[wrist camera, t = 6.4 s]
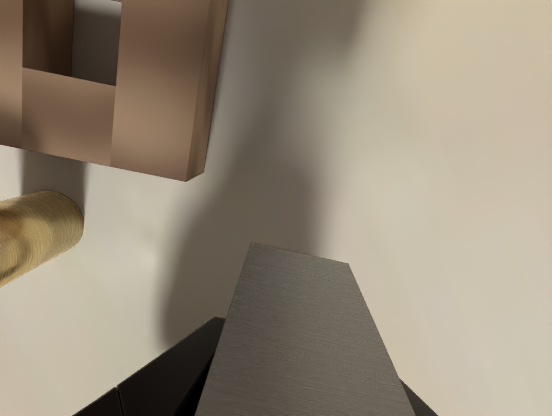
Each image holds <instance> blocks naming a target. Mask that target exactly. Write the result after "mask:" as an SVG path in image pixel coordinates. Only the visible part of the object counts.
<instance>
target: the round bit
mask: <svg viewBox="0 0 552 416" xmlns="http://www.w3.org/2000/svg"><path fill="white" fill-rule="evenodd" d="M82 233H83V219H82V215H81V213H80V211H79V209H78V208H77V206H76V205H75V204H74V203H73V201H71V200H70V199H69V198H68V197H66V196H65V195H63V194H61V193H58V192H55V191H39V192H35V193H31V194H27V195H23V196H19V197H15V198H12V199H8V200H4V201H0V287H1V286H3V285H5V284H7V283H9V282H11V281H12V280H14V279H16V278H18V277H20V276H21V275H23V274H25V273H27V272H29V271H30V270H32V269H34V268H36V267H38V266H39V265H41V264H43V263H45V262H47V261H49V260H50V259H52V258H54V257H56V256H58V255H59V254H61V253H63V252H65V251H67V250H68V249H70V248H72V247H74V246H75V245H76V244H77V243H78V242H79V240H80V239H81V236H82Z"/></svg>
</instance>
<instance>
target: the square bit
mask: <svg viewBox="0 0 552 416" xmlns="http://www.w3.org/2000/svg"><path fill="white" fill-rule="evenodd" d="M195 416H416V415H415V413H414V411H413V409H412V406H411V404H410V402H409V399H408V397H407V395H406V393H405V390H404V388H403V386H402V384H401V381H400V379H399V377H398V375H397V372H396V370H395V368H394V366H393V363H392V361H391V359H390V357H389V354H388V352H387V350H386V347H385V345H384V343H383V341H382V338H381V336H380V334H379V332H378V329H377V327H376V325H375V323H374V320H373V318H372V316H371V314H370V311H369V309H368V307H367V305H366V302H365V300H364V298H363V295H362V293H361V291H360V289H359V286H358V284H357V282H356V280H355V277H354V275H353V273H352V271H351V268H350V266H349V264H348V263H343V262H339V261H334V260H330V259H325V258H320V257H316V256H311V255H307V254H302V253H297V252H293V251H288V250H284V249H279V248H274V247H270V246H265V245H261V244H256V243H251V244H250V247H249V250H248V253H247V256H246V259H245V262H244V265H243V268H242V271H241V274H240V278H239V281H238V284H237V287H236V290H235V293H234V296H233V299H232V302H231V305H230V308H229V311H228V315H227V318H226V321H225V324H224V327H223V330H222V333H221V336H220V339H219V342H218V345H217V349H216V352H215V355H214V358H213V361H212V364H211V367H210V370H209V373H208V376H207V379H206V382H205V386H204V389H203V392H202V395H201V398H200V401H199V404H198V407H197V410H196V413H195Z"/></svg>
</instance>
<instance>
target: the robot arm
mask: <svg viewBox="0 0 552 416" xmlns="http://www.w3.org/2000/svg"><path fill="white" fill-rule="evenodd" d="M225 321H226V319H225V318H220V317H213V318H212V319H210V320H209V321H208V322H206V323H205V324H203V325H202V326H200V327H199V328H198V329H196V330H195V331H193V332H192V333H191V334H189V335H188V336H186V337H185V338H183V339H182V340H181V341H179V342H178V343H176V344H175V345H174V346H172V347H171V348H169V349H168V350H166V351H165V352H164V353H162V354H161V355H159V356H158V357H157V358H155V359H154V360H152V361H151V362H149V363H148V364H147V365H145V366H144V367H142V368H141V369H140V370H138V371H137V372H135V373H134V374H132V375H131V376H130V377H128V378H127V379H125V380H124V381H123V382H121V383H120V384H118V385H117V388H116V387H114V388H112V389H111V390H110V391H108V392H107V393H105V394H104V395H102V396H101V397H100V398H98V399H97V400H95V401H94V402H92V403H91V404H89V405H88V406H86V407H85V408H83V409H82V410H80V411H79V412H77V413H76V414H74V415H72V416H195V413H196V410H197V407H198V404H199V401H200V398H201V395H202V392H203V389H204V386H205V382H206V379H207V376H208V373H209V370H210V367H211V364H212V361H213V358H214V355H215V352H216V349H217V345H218V342H219V339H220V336H221V333H222V330H223V327H224V324H225ZM399 379H400V378H399ZM400 381H401V384H402V386H403V388H404V390H405V393H406V395H407V397H408V399H409V402H410V404H411V406H412V409H413V411H414V413H415V415H416V416H438V415H437V414H436V413H435V412H434V411H433V410H432V409H431V408H430V407H429V406H428V405H427V404H426V403H425V402H423V401H422V400H421V399H420V398H419V397H418V396H417V395H416V394H415V393H414V392H413V391H412V390H411V389H410V388H409V387H408V386H407V385H406V384H405V383H404V382H403V381H402V380H401V379H400Z"/></svg>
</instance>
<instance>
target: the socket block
mask: <svg viewBox="0 0 552 416" xmlns="http://www.w3.org/2000/svg"><path fill="white" fill-rule="evenodd" d="M113 1H118V2H122V12H121V25H120V39H119V52H118V65H117V79H116V86H112V85H107V84H102V83H97V82H92V81H87V80H82V79H77V78H73V77H71V61H72V37H73V14H74V0H0V145H5V146H10V147H15V148H20V149H25V150H30V151H35V152H40V153H45V154H50V155H55V156H60V157H65V158H70V159H75V160H80V161H85V162H90V163H95V164H100V165H105V166H110V167H115V168H120V169H125V170H130V171H135V172H140V173H145V174H150V175H155V176H160V177H165V178H170V179H174V180H179V181H184V182H186V181H188V180H190V179H192V178H194V177H196V176H198V175H200V174H202V173H203V172H204V165H205V158H206V151H207V144H208V137H209V130H210V124H211V117H212V110H213V103H214V96H215V89H216V82H217V75H218V68H219V61H220V54H221V47H222V41H223V34H224V27H225V20H226V13H227V6H228V0H113Z"/></svg>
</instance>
